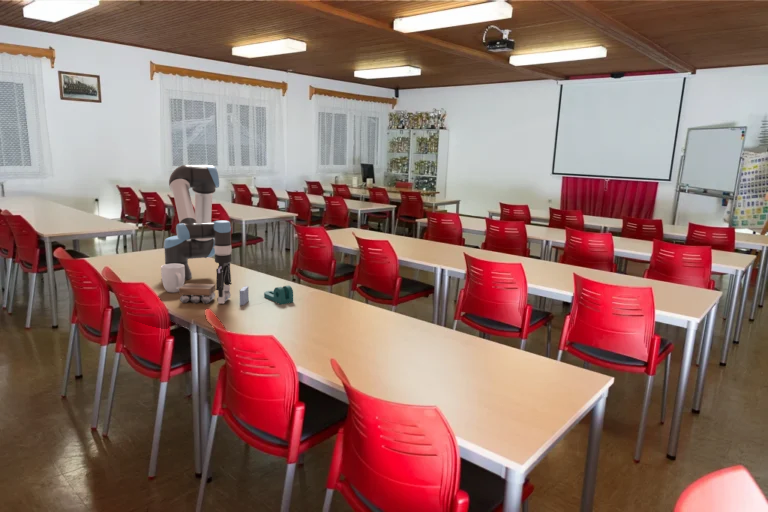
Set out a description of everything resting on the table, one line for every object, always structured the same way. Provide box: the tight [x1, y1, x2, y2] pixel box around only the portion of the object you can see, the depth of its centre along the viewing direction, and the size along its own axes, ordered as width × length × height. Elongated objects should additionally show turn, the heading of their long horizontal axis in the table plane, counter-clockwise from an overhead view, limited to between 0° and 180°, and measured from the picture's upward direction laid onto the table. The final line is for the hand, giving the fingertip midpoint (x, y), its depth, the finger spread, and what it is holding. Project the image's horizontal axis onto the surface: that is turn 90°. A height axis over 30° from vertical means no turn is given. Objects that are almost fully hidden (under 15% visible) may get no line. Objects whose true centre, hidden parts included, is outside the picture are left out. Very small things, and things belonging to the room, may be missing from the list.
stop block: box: [239, 285, 249, 306], centre depth 243 cm, size 8×2×7 cm, turn 0°
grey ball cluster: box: [179, 291, 216, 305], centre depth 243 cm, size 8×14×4 cm, turn 90°
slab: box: [178, 283, 217, 296], centre depth 242 cm, size 9×14×3 cm, turn 90°
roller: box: [217, 291, 232, 305], centre depth 243 cm, size 8×4×4 cm, turn 0°
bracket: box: [263, 284, 294, 306], centre depth 250 cm, size 18×7×8 cm, turn 43°
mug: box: [160, 263, 186, 293], centre depth 256 cm, size 15×11×13 cm
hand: (224, 300), depth 243 cm, fingers closed on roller, 8 cm apart
